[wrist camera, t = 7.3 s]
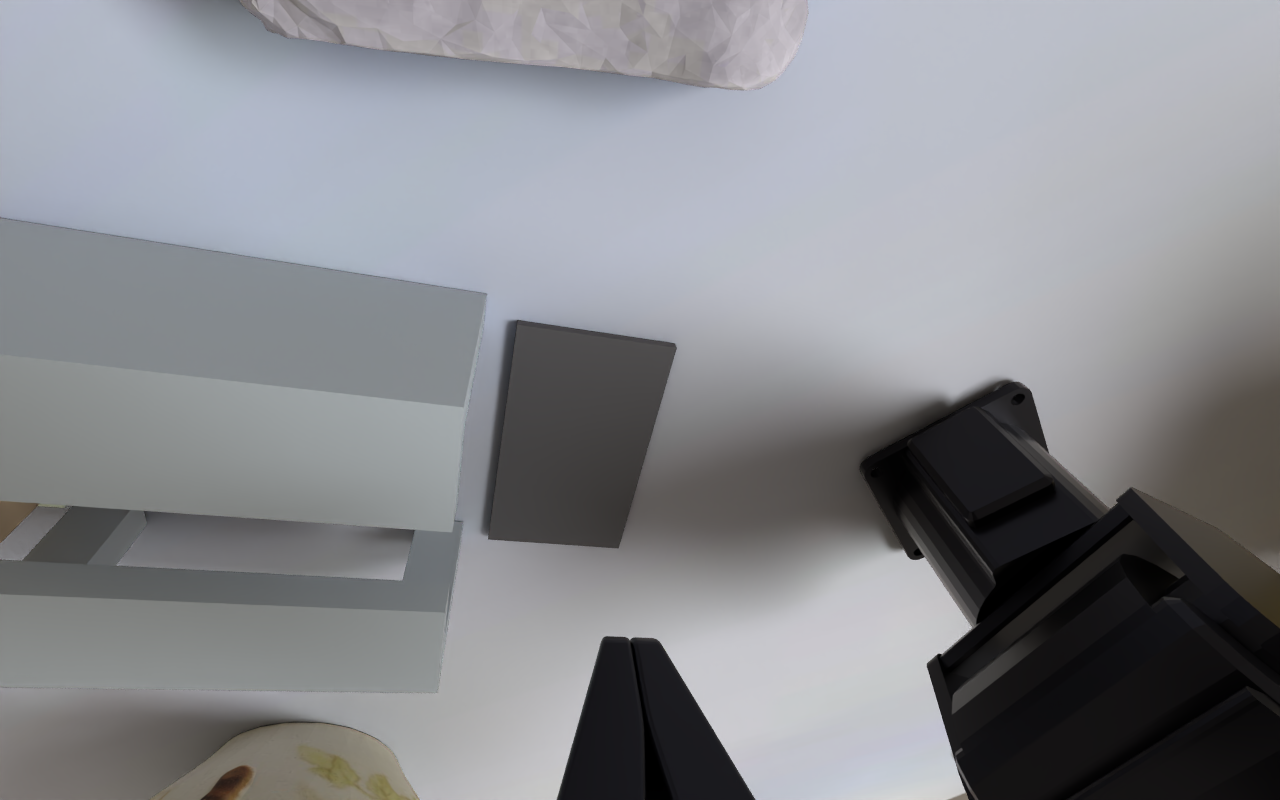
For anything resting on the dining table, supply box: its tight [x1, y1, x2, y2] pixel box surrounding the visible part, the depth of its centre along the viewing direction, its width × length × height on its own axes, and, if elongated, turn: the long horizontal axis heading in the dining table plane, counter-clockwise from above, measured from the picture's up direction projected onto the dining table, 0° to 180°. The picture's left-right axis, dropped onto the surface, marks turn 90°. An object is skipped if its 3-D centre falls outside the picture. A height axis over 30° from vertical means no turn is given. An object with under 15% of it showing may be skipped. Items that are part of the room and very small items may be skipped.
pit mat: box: [488, 320, 676, 548], centre depth 21 cm, size 5×9×1 cm, turn 167°
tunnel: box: [0, 218, 487, 693], centre depth 17 cm, size 12×10×6 cm
